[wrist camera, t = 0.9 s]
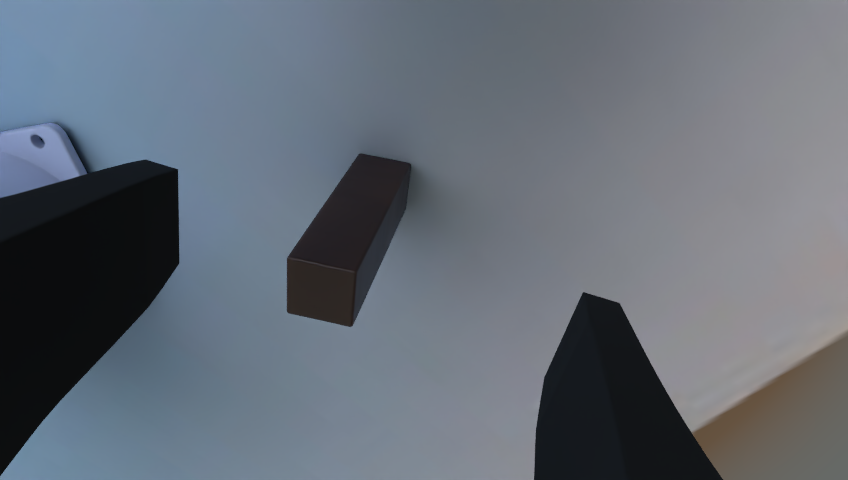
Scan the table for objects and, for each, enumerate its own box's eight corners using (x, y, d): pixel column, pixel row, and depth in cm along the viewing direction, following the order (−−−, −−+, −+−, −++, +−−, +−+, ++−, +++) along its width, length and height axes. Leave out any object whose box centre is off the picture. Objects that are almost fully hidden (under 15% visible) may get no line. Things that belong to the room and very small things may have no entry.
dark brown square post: (355, 199, 22) (285, 314, 16) (359, 152, 21) (285, 257, 16) (405, 210, 22) (352, 328, 16) (411, 162, 21) (356, 272, 15)
